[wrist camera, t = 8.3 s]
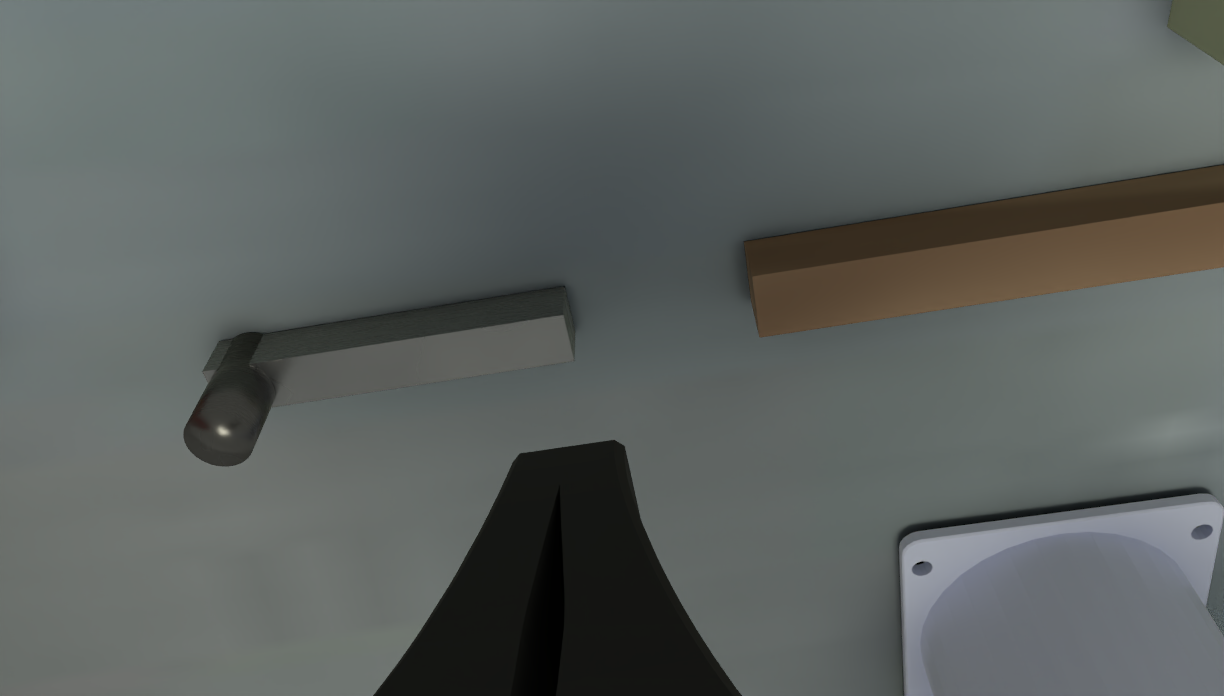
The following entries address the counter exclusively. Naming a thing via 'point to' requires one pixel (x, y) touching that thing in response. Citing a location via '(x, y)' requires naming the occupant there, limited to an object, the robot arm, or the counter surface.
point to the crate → (1200, 24)
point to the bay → (988, 252)
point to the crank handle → (370, 361)
